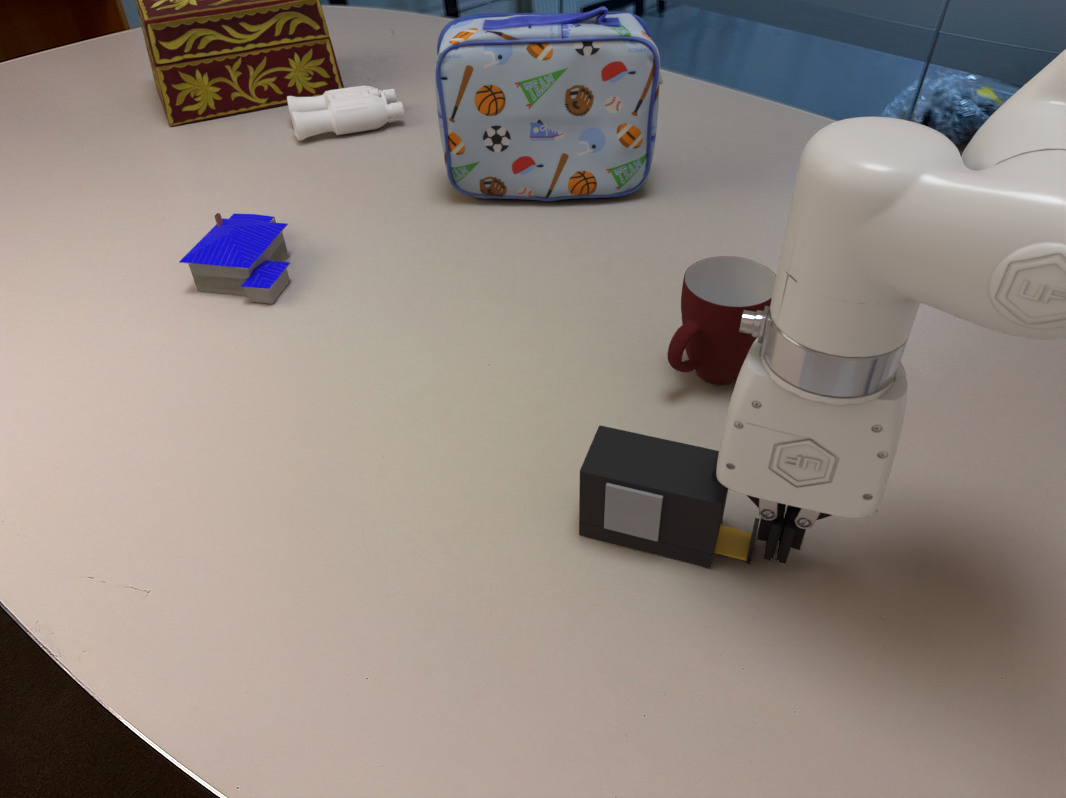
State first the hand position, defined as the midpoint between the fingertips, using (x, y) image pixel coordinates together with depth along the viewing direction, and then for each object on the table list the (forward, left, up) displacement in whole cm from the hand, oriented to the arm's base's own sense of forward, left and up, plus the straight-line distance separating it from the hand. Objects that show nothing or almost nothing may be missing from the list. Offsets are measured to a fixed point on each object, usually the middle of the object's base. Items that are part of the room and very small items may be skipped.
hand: (776, 546), depth 58 cm
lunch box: (+34, -51, -1) cm, 61 cm away
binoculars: (+70, -62, -1) cm, 94 cm away
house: (+61, -22, -1) cm, 65 cm away
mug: (+8, -19, -1) cm, 21 cm away
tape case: (+9, 0, -1) cm, 9 cm away
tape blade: (+7, 0, -1) cm, 7 cm away
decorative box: (+93, -70, -1) cm, 117 cm away
